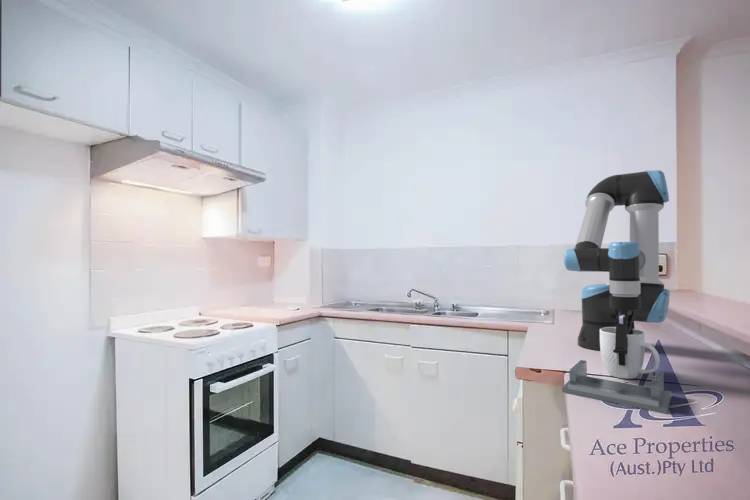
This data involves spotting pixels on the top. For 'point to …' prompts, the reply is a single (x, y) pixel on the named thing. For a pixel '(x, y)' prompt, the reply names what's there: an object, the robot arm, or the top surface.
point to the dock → (619, 390)
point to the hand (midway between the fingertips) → (626, 371)
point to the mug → (634, 352)
